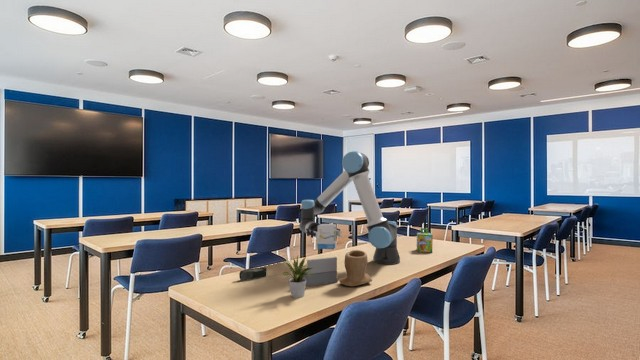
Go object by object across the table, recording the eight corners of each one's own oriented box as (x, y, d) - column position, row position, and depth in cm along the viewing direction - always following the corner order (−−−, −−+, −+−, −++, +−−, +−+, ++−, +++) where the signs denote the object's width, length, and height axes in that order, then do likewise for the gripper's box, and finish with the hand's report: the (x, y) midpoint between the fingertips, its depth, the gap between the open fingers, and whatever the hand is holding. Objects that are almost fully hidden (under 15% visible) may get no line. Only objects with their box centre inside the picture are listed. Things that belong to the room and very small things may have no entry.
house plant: (283, 304, 129) (283, 261, 129) (273, 293, 142) (273, 253, 142) (318, 299, 135) (318, 257, 135) (305, 289, 148) (305, 250, 148)
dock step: (322, 273, 172) (322, 251, 172) (337, 282, 157) (337, 257, 157) (296, 276, 166) (295, 253, 166) (308, 286, 152) (308, 260, 152)
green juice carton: (417, 252, 221) (417, 229, 221) (416, 249, 231) (416, 227, 231) (432, 252, 220) (432, 229, 220) (430, 249, 229) (430, 227, 229)
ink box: (333, 249, 170) (333, 226, 170) (316, 248, 172) (316, 225, 172) (336, 246, 178) (336, 223, 178) (320, 245, 180) (320, 223, 180)
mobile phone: (264, 266, 169) (236, 270, 160) (267, 267, 167) (238, 271, 158) (264, 276, 169) (235, 281, 160) (267, 277, 167) (238, 282, 158)
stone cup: (351, 290, 145) (351, 255, 145) (335, 283, 155) (335, 250, 155) (379, 285, 153) (379, 251, 153) (362, 278, 163) (362, 246, 163)
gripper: (333, 234, 196) (351, 240, 176) (293, 237, 187) (307, 244, 167) (333, 221, 196) (351, 226, 176) (293, 223, 187) (307, 228, 167)
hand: (330, 234), depth 172 cm, fingers closed on ink box, 11 cm apart
